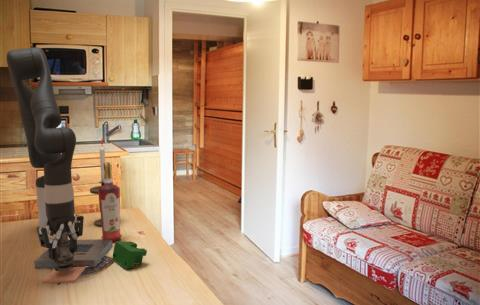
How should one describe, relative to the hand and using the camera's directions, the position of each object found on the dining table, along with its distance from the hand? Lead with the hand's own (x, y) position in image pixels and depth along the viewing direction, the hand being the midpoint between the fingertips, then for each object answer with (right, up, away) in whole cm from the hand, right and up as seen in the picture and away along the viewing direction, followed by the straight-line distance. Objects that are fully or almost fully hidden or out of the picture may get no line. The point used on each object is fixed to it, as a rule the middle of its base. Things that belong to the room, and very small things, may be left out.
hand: (63, 255), depth 122 cm
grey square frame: (-2, -4, +15) cm, 15 cm away
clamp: (+17, -5, +10) cm, 20 cm away
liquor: (+5, -2, +29) cm, 30 cm away
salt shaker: (0, -4, +1) cm, 4 cm away
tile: (0, -6, +1) cm, 6 cm away
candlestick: (-3, +1, +49) cm, 49 cm away
